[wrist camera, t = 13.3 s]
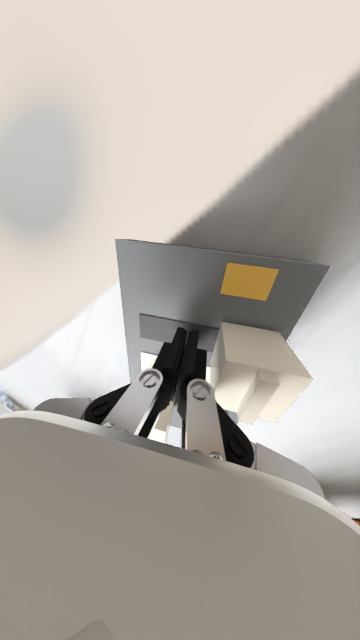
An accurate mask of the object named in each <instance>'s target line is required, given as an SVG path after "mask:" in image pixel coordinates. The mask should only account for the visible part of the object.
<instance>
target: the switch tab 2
mask: <svg viewBox="0 0 360 640" xmlns="http://www.w3.org/2000/svg"><path fill="white" fill-rule="evenodd" d="M312 380H313V378H312V377H311V375H310V374H309V373H308V371H307V370H306V369H305V367H304V366H303V364H302V363H301V362H300V360H299V359H298V358H297V356H296V355H295V353H294V352H293V351H292V349H291V348H290V346H289V345H288V344H287V342H286V341H285V340H284V338H283V337H282V335H281V334H280V333H279V332H276V331H270V330H265V329H259V328H254V327H248V326H243V325H237V324H232V323H226V322H221V326H220V329H219V333H218V336H217V340H216V343H215V347H214V350H213V354H212V357H211V361H210V385H211V386H212V387H213V390H214V394H215V400H216V401H217V403H218V404H219V405H220V406H221V407H222V408H223V409H224V410H228V411H232V412H236V413H237V419H238V421H240V422H244V423H247V424H251V425H252V424H253V423H254V421H255V420H256V418H260V419H264V420H268V421H272V422H277V421H278V420H279V418H280V417H281V416H282V415H283V414H284V413H285V411H286V410H287V409H288V408H289V407H290V406H291V404H292V403H293V402H294V401H295V400H296V398H297V397H298V396H299V395H300V394H301V393H302V391H303V390H304V389H305V388H306V387H307V386H308V384H309V383H310V382H311V381H312Z"/></svg>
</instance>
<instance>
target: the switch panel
mask: <svg viewBox="0 0 360 640" xmlns="http://www.w3.org/2000/svg"><path fill="white" fill-rule="evenodd" d="M115 241H116V251H117V260H118V270H119V279H120V288H121V298H122V307H123V316H124V326H125V335H126V344H127V354H128V363H129V372H130V382H131V383H132V382H133V381H134V380H135V378H136V377H137V376H138V374H139V373H140V372H141V371H143V370H145V369H149V368H152V367H153V365H154V363H155V360H156V358H157V356H158V354H159V352H160V350H161V348H162V345H163V343H164V342H168V343H172V340H173V338H174V335H175V333H176V330H177V328H178V327H181V328H185V330H186V331H187V337H186V342H187V338H188V334H189V331H192V330H197V331H199V338H198V346H197V348H198V349H203V350H207V364H206V381H207V382H208V383H209V384H210V361H211V357H212V354H213V350H214V347H215V343H216V340H217V336H218V333H219V329H220V326H221V322H226V323H232V324H237V325H243V326H248V327H254V328H259V329H265V330H270V331H276V332H279V333H280V334H281V335H282V337H283V338H284V340H285V341H286V340H287V338H288V336H289V335H290V333H291V331H292V330H293V328H294V326H295V325H296V323H297V321H298V319H299V318H300V316H301V314H302V313H303V311H304V309H305V308H306V306H307V304H308V303H309V301H310V299H311V297H312V296H313V294H314V292H315V291H316V289H317V287H318V286H319V284H320V282H321V280H322V279H323V277H324V275H325V274H326V272H327V270H328V269H329V267H330V266H326V265H321V264H317V263H312V262H307V261H299V260H291V259H283V258H275V257H267V256H259V255H251V254H243V253H235V252H227V251H219V250H211V249H203V248H195V247H187V246H179V245H171V244H163V243H155V242H147V241H138V240H130V239H115ZM185 346H186V344H185ZM177 386H178V384H177ZM176 394H177V388H176ZM176 394H175V401H174V408H173V413H172V417H171V422H170V425H171V426H174V427H178V428H181V419H182V418H181V417H180V415H179V413H178V412H177V407H178V403H176ZM223 410H224V409H223ZM224 411H225V412H226V413H227V414H228V415H229V417H230V418H231V419H232V420H233V421H234V422H235V424H236V425H237V423H238V419H237V413H236V412H232V411H228V410H224Z"/></svg>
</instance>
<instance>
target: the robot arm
mask: <svg viewBox="0 0 360 640" xmlns="http://www.w3.org/2000/svg"><path fill="white" fill-rule="evenodd" d="M186 337H187V331H186V330H185V328H181V327H178V328H177V330H176V333H175V335H174V338H173V340H172V343H168V342H164V343H163V345H162V348H161V350H160V352H159V354H158V356H157V358H156V360H155V363H154V365H153V367H152V368H149V369H145V370H143V371H141V372H140V373H139V374H138V376H137V377H136V378H135V380H134V381H133V382H132V383H131V384H128V385H126V386H124V387H122V388H119V389H117V390H115V391H112V392H110V393H108V394H106V395H103V396H101V397H99V398H97V399H95V400H90V399H76V398H54V399H49V400H47V401H44V402H42V403H41V404H39V405H38V406H37V407H36V408H35V409H34V410H33V411H17V412H11V413H5V414H1V415H0V640H360V526H359V525H358V524H357V523H356V522H355V521H353V520H352V519H351V518H350V517H349V516H347V515H346V514H345V513H343V512H342V511H341V510H339V509H338V508H337V507H336V506H334V505H332V504H331V503H329V502H328V501H326V499H325V496H324V493H323V491H322V488H321V486H320V484H319V483H318V481H317V480H316V478H315V477H314V476H313V475H312V474H311V473H310V472H309V471H308V470H307V469H306V468H304V467H303V466H301V465H300V464H298V463H296V462H294V461H292V460H290V459H288V458H286V457H284V456H282V455H280V454H278V453H276V452H274V451H272V450H270V449H269V448H267V447H265V446H263V445H261V444H259V443H256V444H255V443H253V442H251V441H249V439H248V438H247V436H246V435H245V434H244V433H243V432H242V430H241V429H240V428H239V427H238V426H237V425H236V424H235V422H234V421H233V420H232V419H231V418H230V417H229V415H228V414H227V413H226V412H225V411H224V410H223V408H222V407H221V406H220V405H219V404H218V403H217V401H216V400H215V394H214V390H213V387H212V386H211V385H210V384H209V383H208V382H207V381H206V364H207V350H203V349H198V348H197V346H198V338H199V331H197V330H192V331H189V334H188V338H187V342H186ZM185 344H186V346H185ZM177 384H178V386H177ZM176 388H177V394H176V403H178V407H177V412H178V413H179V415H180V417H181V418H182V419H181V447H180V448H179V447H175V446H172V445H168V444H165V443H161V442H158V441H154V440H151V439H150V437H151V435H152V432H153V430H154V428H155V426H156V423H157V421H158V419H159V417H160V414H161V411H163V410H165V409H166V408H167V406H169V404H170V401H172V402H173V401H174V397H175V392H176Z"/></svg>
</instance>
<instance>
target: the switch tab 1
mask: <svg viewBox="0 0 360 640" xmlns="http://www.w3.org/2000/svg"><path fill="white" fill-rule="evenodd" d="M175 394H176V392H175ZM174 401H175V397H174ZM174 401H173V402H172V401H170V404H169V406H167V408H166V409H165V410H163V411H161V414H160V417H159V419H158V421H157V423H156V426H155V428H154V430H153V432H152V435H151V437H150V439H151V440H154V441H158V442H161V443H166V439H167V435H168V430H169V426H170V422H171V417H172V413H173V408H174Z"/></svg>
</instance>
